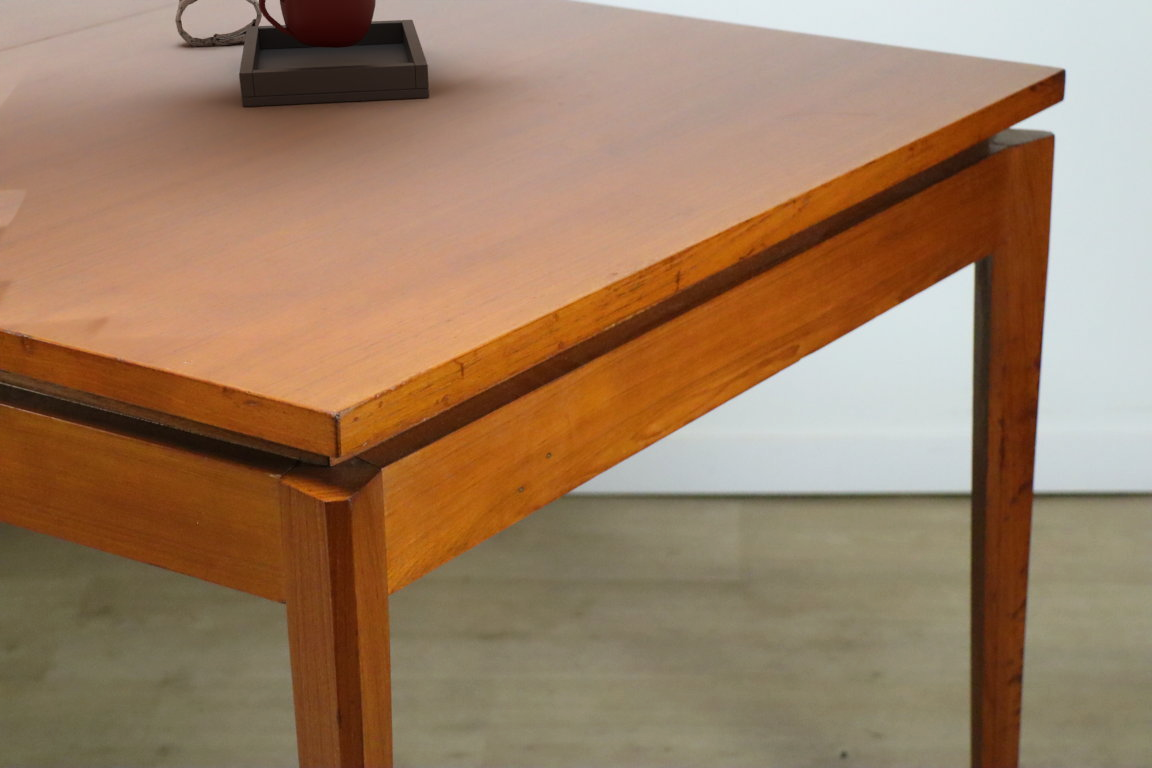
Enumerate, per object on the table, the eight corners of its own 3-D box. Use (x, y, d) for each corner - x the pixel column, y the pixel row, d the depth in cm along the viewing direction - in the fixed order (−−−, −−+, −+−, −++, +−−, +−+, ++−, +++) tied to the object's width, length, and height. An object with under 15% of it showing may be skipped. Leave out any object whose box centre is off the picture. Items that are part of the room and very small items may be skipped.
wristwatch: (179, 40, 112) (171, -29, 110) (264, 36, 113) (258, -32, 111) (176, 50, 109) (167, -20, 107) (263, 46, 110) (257, -24, 108)
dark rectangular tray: (242, 107, 94) (238, 73, 93) (250, 56, 107) (247, 26, 106) (429, 97, 96) (427, 64, 95) (414, 48, 109) (412, 19, 108)
